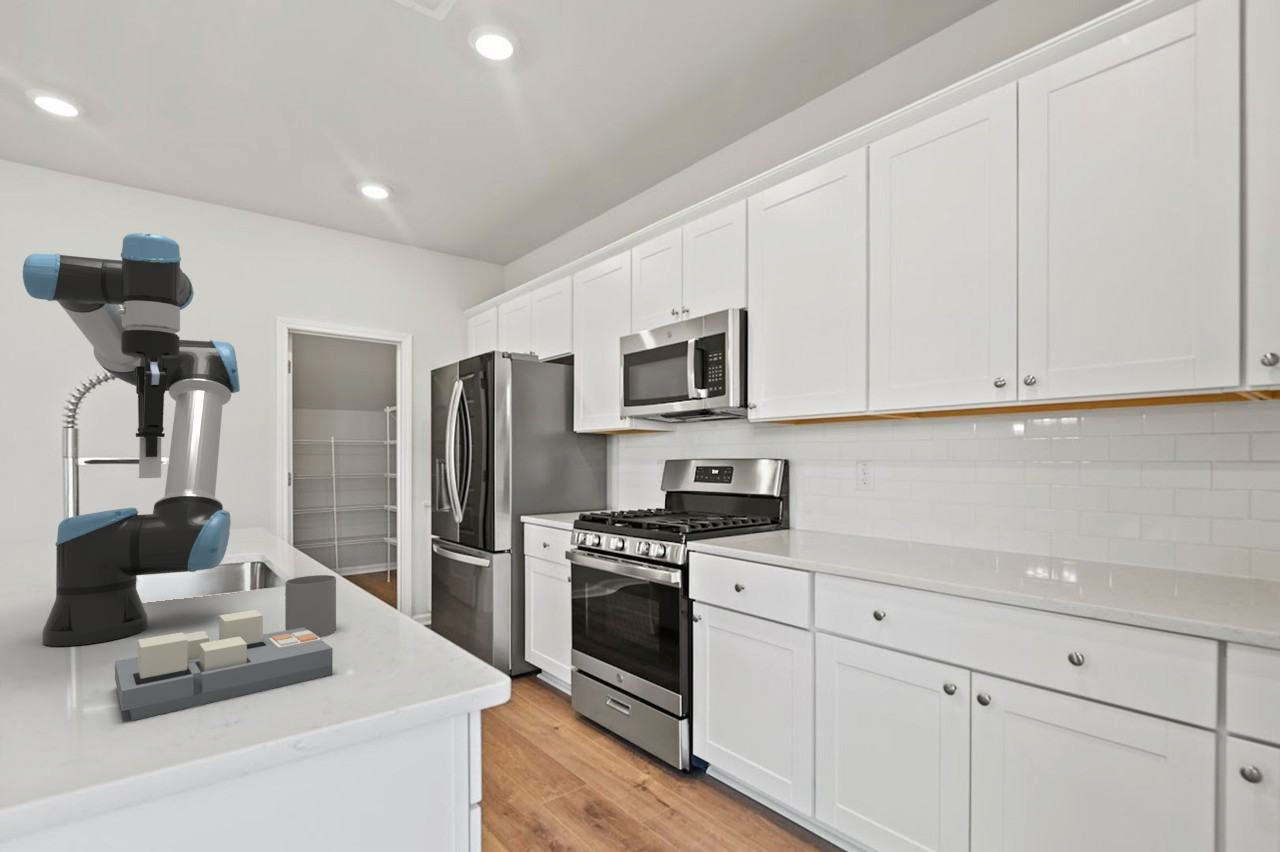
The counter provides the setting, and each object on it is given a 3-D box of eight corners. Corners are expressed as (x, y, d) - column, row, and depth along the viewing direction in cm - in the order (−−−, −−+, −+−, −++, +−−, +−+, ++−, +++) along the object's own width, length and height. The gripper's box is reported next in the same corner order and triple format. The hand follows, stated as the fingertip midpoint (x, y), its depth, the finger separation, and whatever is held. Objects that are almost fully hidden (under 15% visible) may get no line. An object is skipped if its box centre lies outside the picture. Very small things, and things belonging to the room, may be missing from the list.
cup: (314, 641, 116) (314, 584, 117) (275, 639, 118) (275, 583, 118) (345, 628, 125) (345, 575, 125) (307, 626, 126) (307, 574, 126)
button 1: (137, 669, 88) (137, 639, 88) (182, 660, 92) (182, 632, 92) (140, 678, 85) (141, 647, 85) (187, 669, 88) (187, 639, 88)
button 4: (219, 641, 101) (219, 615, 101) (255, 634, 104) (255, 609, 104) (224, 648, 97) (225, 621, 97) (262, 641, 100) (262, 615, 101)
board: (114, 689, 94) (115, 656, 94) (303, 651, 110) (303, 623, 110) (121, 723, 82) (122, 685, 82) (332, 674, 98) (332, 643, 98)
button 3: (199, 671, 93) (199, 643, 93) (239, 663, 96) (239, 636, 96) (204, 680, 89) (204, 651, 89) (246, 672, 92) (246, 643, 93)
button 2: (163, 664, 96) (163, 637, 96) (203, 657, 100) (203, 631, 100) (167, 673, 92) (167, 645, 93) (208, 665, 96) (209, 637, 96)
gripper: (118, 334, 107) (117, 477, 107) (125, 323, 98) (123, 480, 97) (173, 339, 112) (172, 475, 112) (185, 328, 103) (184, 478, 102)
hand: (150, 477), depth 104 cm, fingers closed
